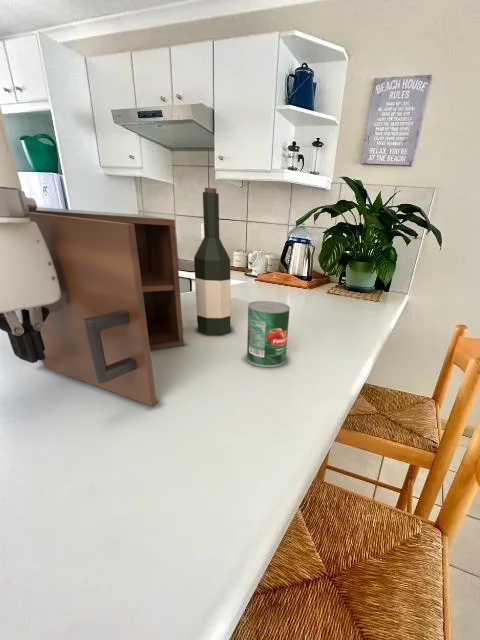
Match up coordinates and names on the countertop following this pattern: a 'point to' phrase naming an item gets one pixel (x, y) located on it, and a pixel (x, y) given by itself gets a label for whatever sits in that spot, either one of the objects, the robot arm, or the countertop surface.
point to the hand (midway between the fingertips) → (32, 358)
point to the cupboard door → (97, 306)
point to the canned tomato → (267, 333)
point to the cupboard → (150, 271)
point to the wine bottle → (212, 273)
